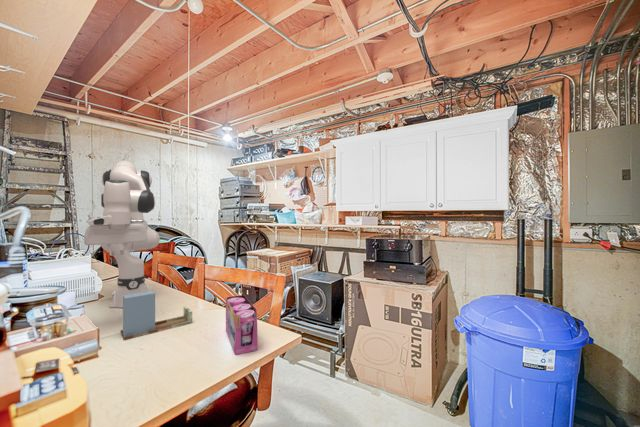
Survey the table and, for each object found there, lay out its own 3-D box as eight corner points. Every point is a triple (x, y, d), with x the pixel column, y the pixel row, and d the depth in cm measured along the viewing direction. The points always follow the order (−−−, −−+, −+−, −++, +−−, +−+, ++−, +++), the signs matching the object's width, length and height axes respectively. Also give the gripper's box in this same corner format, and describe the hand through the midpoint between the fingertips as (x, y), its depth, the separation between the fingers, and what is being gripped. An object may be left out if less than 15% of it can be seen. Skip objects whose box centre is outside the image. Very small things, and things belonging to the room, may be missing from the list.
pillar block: (122, 333, 107) (123, 295, 107) (152, 326, 113) (152, 290, 113) (124, 338, 103) (124, 298, 103) (155, 330, 110) (155, 293, 110)
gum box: (259, 352, 94) (259, 312, 94) (235, 357, 90) (235, 316, 90) (244, 326, 115) (244, 294, 115) (225, 330, 112) (225, 297, 112)
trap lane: (120, 334, 108) (120, 320, 108) (185, 318, 124) (185, 306, 124) (123, 342, 101) (123, 326, 101) (192, 324, 117) (192, 311, 117)
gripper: (146, 219, 118) (146, 251, 118) (83, 220, 104) (83, 256, 104) (149, 219, 113) (149, 253, 113) (84, 220, 100) (84, 258, 100)
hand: (117, 255), depth 109 cm, fingers closed
